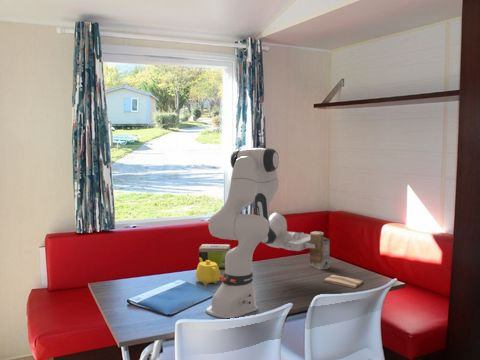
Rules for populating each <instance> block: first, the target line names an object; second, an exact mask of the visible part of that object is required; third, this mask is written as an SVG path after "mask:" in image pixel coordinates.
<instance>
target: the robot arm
mask: <svg viewBox="0 0 480 360" xmlns="http://www.w3.org/2000/svg"><path fill="white" fill-rule="evenodd" d="M279 162H280V160H279V154H278V152H277V150H275V148H269V147H267V148H262V147H249V148H238V149H235V150H234V151H233V152H232V153H231V155H230V166H231V167H232V173H231V176H230V186H229V191H228V196H227V199H226V201H225V203H224V205H223V206H222V207H221V208H220V209H219V210H218V211H217V212H216V213H214V214H212V216H211V217H210V219H209V220H208V230H209V231H208V232H209V233H210V235H211V236H212V237H215V238H218V239H220V240H221V239H222V240H230V241H232V240H234V241H238V245H237V246H235V247H233V248H230V250H229V251H228V252H227V254H226V256H225V273H224V276H219V281H221V282H222V283H221V284H220V286H219V287H218V289H217V290H216V292H215V293H214V294H213V295H212V298H211V304H210V305H209V306H208V307H206V308H205V312H206V313H207V314H209V315H211V316H214V317H217V318H220V319H227V318H233V319H235V317H236V318H238V317H241V316H243V315H246V314H249V313H252V312H254V311H257V310H258V306H257V304H256V295H255V294H256V292H255V288H254V285H253V281H254V280H253V279H254V275H253V271H252V270H253V268H252V267H253V254H254V251H255V249H256V248H257V246H258V245H259V244H260V243H261V244H265V245H267V246H268V247H271V248H277V249H280V248H281V249H284V250H288V251H295V252H301V251H303V250H305V249H310V248H316V244H310V235H311V234H309V233H304V232H301V231H300V232H296V231H288V223H287V222H288V221H287V218H286V216H284V215H283V214H281V213H280V212H273V213H271V214H270V212H269V210H270V204H271V201H272V200H273V198H274V196H275V194H276V193H277V192H278V189H279V176H278V172H277V171H278V170H277V169H278V167H279ZM253 203H254V209H255V211H254V212H255V214H251V213H249V214H248V213H241V212H242V211H243V209H244V208H246V207H248V206H250V205H252V204H253ZM219 281H218V282H219Z"/></svg>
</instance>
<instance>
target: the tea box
mask: <svg viewBox="0 0 480 360" xmlns="http://www.w3.org/2000/svg"><path fill="white" fill-rule="evenodd" d="M229 250H231V244H229V243H228V244H227V243H225V244H222V243H221V244H219V243H218V244H216V243H215V244H213V243H211V244H210V243H209V244H208V243H205V244H204V243H202V244H201V245H200V246H199V248H198V264H199V263H200V259H199V257H201V258H202V260H203V262H206V260H210V261H212V262H215V263H216V264H217V265H218V267H219V270H220V276H224V273H225V256H226V254H227V252H228V251H229Z"/></svg>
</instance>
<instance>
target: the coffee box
mask: <svg viewBox="0 0 480 360" xmlns="http://www.w3.org/2000/svg"><path fill="white" fill-rule="evenodd" d="M330 241H331V240H330V238H327V237H325V236H323V261H322V262H320V263H314V262H310V266H311V267H313V268H316V269H317V270H326V269H328V268H329V269H330V250H331V248H330V247H331V246H330V245H331V243H330Z"/></svg>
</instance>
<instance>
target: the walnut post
mask: <svg viewBox="0 0 480 360" xmlns="http://www.w3.org/2000/svg"><path fill="white" fill-rule="evenodd" d="M309 235H310V244H316V248H309V262H310V263H311V262H314V263H320V262H322V261H323V237H324V231H323V232H322V231H318V230H317V231H316V230H314V231H311V232H310V234H309Z"/></svg>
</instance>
